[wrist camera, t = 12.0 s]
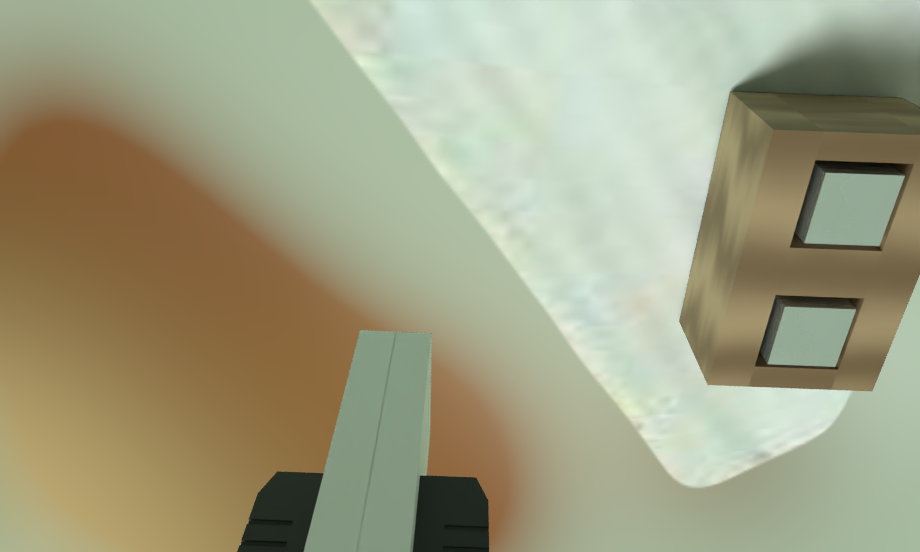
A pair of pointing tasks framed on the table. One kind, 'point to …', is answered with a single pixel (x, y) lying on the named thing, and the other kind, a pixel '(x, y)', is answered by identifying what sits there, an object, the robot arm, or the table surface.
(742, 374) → the wooden peg hole block
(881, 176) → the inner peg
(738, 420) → the table surface
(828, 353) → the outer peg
